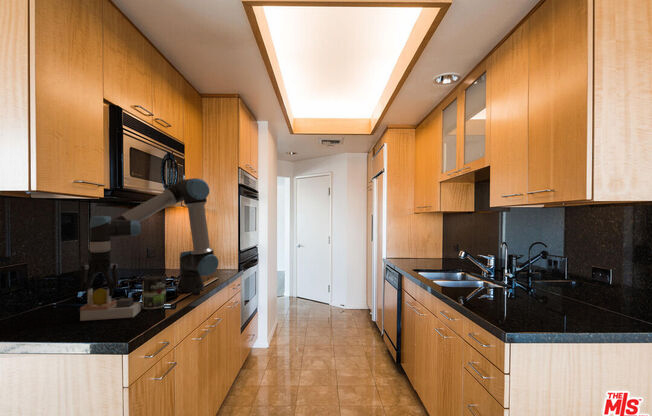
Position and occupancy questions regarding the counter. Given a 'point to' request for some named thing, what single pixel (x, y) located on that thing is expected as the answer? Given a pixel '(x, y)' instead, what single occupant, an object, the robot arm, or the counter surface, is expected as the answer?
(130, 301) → the breaker button
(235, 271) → the counter surface
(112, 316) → the box
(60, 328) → the counter surface
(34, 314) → the counter surface
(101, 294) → the lemon
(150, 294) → the coffee can
